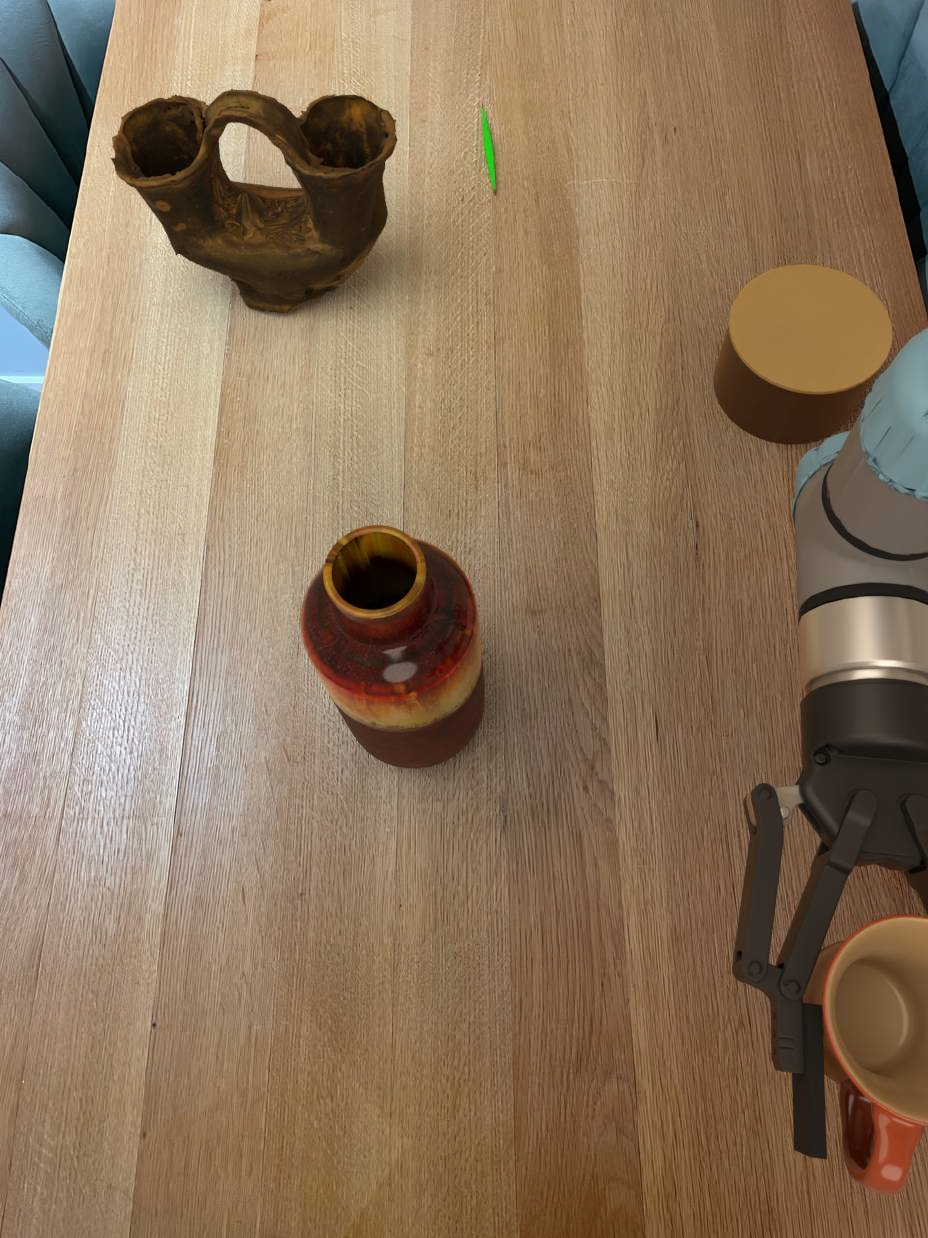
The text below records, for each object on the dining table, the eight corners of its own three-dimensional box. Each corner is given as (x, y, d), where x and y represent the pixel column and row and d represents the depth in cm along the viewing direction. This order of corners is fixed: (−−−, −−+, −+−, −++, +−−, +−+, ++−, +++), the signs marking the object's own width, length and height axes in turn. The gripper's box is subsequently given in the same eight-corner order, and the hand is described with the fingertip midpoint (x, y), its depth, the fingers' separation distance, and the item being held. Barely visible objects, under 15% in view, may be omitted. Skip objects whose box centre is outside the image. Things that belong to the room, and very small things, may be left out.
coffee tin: (855, 329, 89) (886, 267, 81) (864, 450, 83) (898, 395, 76) (711, 322, 90) (728, 260, 82) (711, 441, 85) (730, 387, 77)
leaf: (491, 200, 97) (491, 193, 96) (477, 104, 102) (477, 98, 102) (500, 199, 97) (500, 192, 96) (486, 103, 102) (486, 97, 102)
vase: (332, 676, 78) (250, 524, 54) (456, 628, 79) (431, 457, 55) (377, 800, 73) (310, 694, 49) (508, 747, 75) (505, 618, 51)
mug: (790, 908, 54) (845, 887, 44) (949, 963, 52) (1041, 954, 43) (739, 1131, 50) (787, 1161, 40) (910, 1199, 48) (1002, 1246, 39)
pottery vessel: (421, 236, 96) (399, 52, 77) (412, 322, 92) (387, 148, 73) (180, 235, 97) (104, 54, 79) (161, 318, 93) (76, 148, 75)
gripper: (1028, 730, 55) (1084, 1182, 46) (675, 699, 56) (665, 1129, 48) (1103, 689, 48) (1185, 1211, 39) (698, 655, 50) (691, 1148, 41)
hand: (899, 1165), depth 43 cm, fingers closed on mug, 7 cm apart
